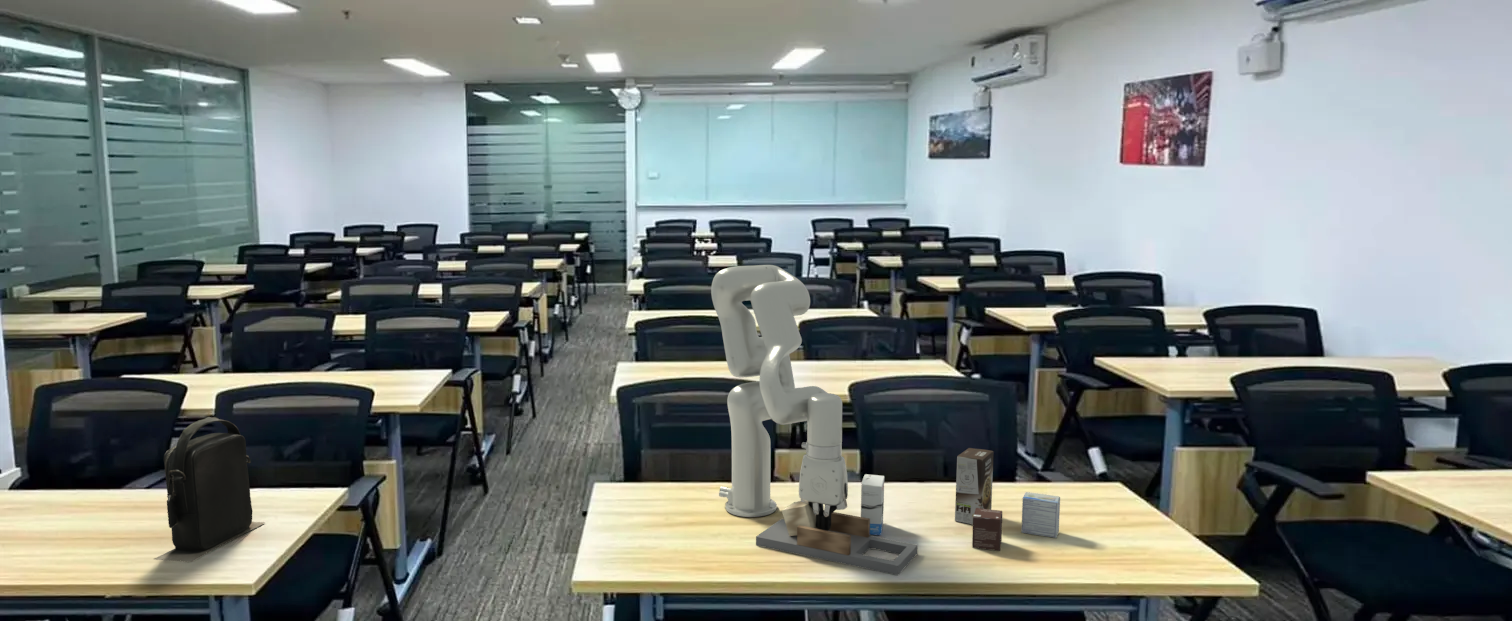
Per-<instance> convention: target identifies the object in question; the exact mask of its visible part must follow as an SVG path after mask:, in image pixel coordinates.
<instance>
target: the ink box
mask: <svg viewBox="0 0 1512 621" xmlns="http://www.w3.org/2000/svg"><path fill="white" fill-rule="evenodd" d="M860 484H861V491H860V492H861V493H860V495H861V496H860V498H861V500H860V517H864V518H869V519H870V536H881V535H882V532H883V525H884V510H885V509H884V505H885V504H884V503H885V475H878V474H867V473H865V474H864V476H863V478H862V481H861V483H860Z"/></svg>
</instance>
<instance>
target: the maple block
mask: <svg viewBox="0 0 1512 621" xmlns="http://www.w3.org/2000/svg"><path fill="white" fill-rule="evenodd" d="M781 513H782V516H783V519H784V520H785V523H786V527H787V530H788V533H789V536H795V535H797V527H798V526H799V525H800V526H805V527H811V528H816V529H817V527H816V515H815V514H814V511H813V509H812V508H811V507H810V506H809V503H807V504H805V503H803V502H801V500H799V501H794V502H792V503H791V504H789V505H788V506H786V507H785V508H783V509H781Z"/></svg>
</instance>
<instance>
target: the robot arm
mask: <svg viewBox="0 0 1512 621" xmlns="http://www.w3.org/2000/svg"><path fill="white" fill-rule="evenodd" d="M710 289H711V290H710V293H711V300H712V304H713V307H714V310H715V313H716V316H717V318H718V320H719V323H720V328H721V334H722V340H723V348H724V353H725V359H726V363H727V368H728V370H729V373H730V374H731V375H732V376H733V377H735V378H753V377H759V380H758V381H752V382H745V383H741V384H738V385H736V386H735V387H733V388H732V389H731V390H730V391H729V393H728V395H727V402H726V403H727V409H728V410H727V411H728V414H729V422H730V431H731V487H727V486H723V485H722V486H720V488H719V490H718V491H719V492H718V496H719V497H721V498H726V499H727V501H726V502H725V510H726V511H727V512H728V513H729V514H731V515H734V516H738V517H743V518H745V517H746V518H758V517H765V516H769V515H771V514H773V513H775V511H777V502H776V501H775V500H773V499H772V498H771V448H772V447H771V438H770V435H769V434H770V433H768V431H767V429H766V427H764V425H763V422H764V421H768V420H771V421H773V422H774V423H776V424H778V425H791V424H795V423H800V422H806V425H807V429H806V431H807V432H806V433H807V434H806V439H807V440H806V442H804V441H803V442H802V443H801V448H802V449H805V452H806V454H804V455H803V456H802V460H801V466H800V471H799V480H798V481H799V483H798V496H799V498H800V501H801V502H803V503H805V504H807V503H809V506H810V507H811V508H812V509H813V511H814V514H815V515H816V527H817V529H821V530H826V531H828V530H829V529H830V528H831V513H833V512H835V511H843V510H845V509H846V508H848V503H847V499H848V496H849V495H848V493H849V489H848V488H849V487H848V486H849V485H848V484H849V483H848V472H847V471H848V470H847V464H846V460H845V457H844V456H843V455H842V454H843V452H842V451H843V449H842V446H843V443H842V442H843V400H842V398H841V397H840V396H839V395H837V394H834V393H828V391H826V390H825V389H823V388H821V387H819V386H816V385H815V386H814V385H810V386H809V385H808V386H803V387H796V386H795V380H794V373H793V368H792V363H791V357H790V354H792V353H794V352H795V351H797V350H798V348H799V347H801V344H802V342H803V339H802V336H801V334H800V330H799V328H798V324H797V322H796V318H795V316H803V315H804V314H807V312H808V311H809V309H810V306H811V297H810V293H809V290H808V289H807V287H806V286H805V284H804V282H802V281H801V280H800V279H798V278H797V277H796V276H794V275H792V274H791V273H789V272H787V271H786V270H784V269H783V268H781V267H779V266H778V265H773V264H759V265H758V264H757V265H756V264H755V265H739V266H730V267H727V268H723V269H721V270H719V271H718V272H716V273H715V275H714V277H713V279H712V282H711V288H710ZM745 301H746V302H747V301H750V303H751V308H752V311H753V313H751V311H750V309H748V307H747V306H746V305H744V304H743V302H745ZM753 314H754V315H753ZM754 316H755V318H754ZM756 323H757V325H758V329H759V331H760V332H759V333H760V335H761V336H759V335H758V331H757V325H756Z"/></svg>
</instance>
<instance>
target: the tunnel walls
mask: <svg viewBox="0 0 1512 621" xmlns="http://www.w3.org/2000/svg"><path fill="white" fill-rule="evenodd" d="M829 530H831V531H836V532H842V533H847V534H852V535H857V536H862V537H867V538H868V537H869V536H871V535H870V519H869V518H864V517H861V516H857V515H854V514H853V515H852V514H847V513H846V514H845V513H842V512H841V513H840V512H835V511H834V512H833V513H831V528H830V529H829ZM831 531H826V530H821V529H816V528H811V527H805V526H800V525H799V526H798V527H797V545H801V546H806V547H811V548H816V549H820V550H825V551H830V552H835V553H840V554H845V555H849V554H851V535H847V534H841V533H836V532H831Z"/></svg>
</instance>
